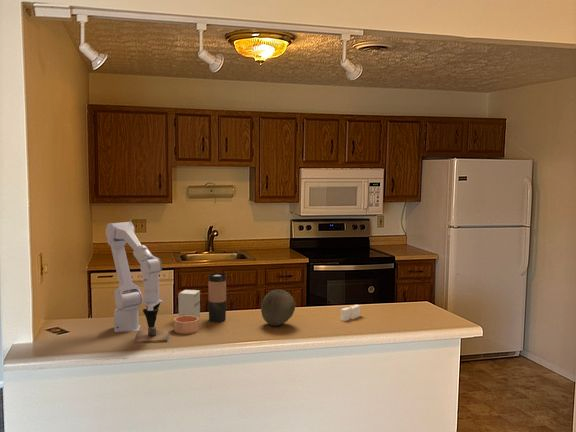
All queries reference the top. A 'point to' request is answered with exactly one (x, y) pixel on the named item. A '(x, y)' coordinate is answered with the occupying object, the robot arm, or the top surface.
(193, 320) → the terracotta bowl
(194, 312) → the supplement box
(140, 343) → the slate mat
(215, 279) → the travel mug
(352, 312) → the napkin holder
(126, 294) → the robot arm
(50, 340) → the top surface
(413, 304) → the top surface
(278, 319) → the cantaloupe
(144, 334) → the walnut cover
